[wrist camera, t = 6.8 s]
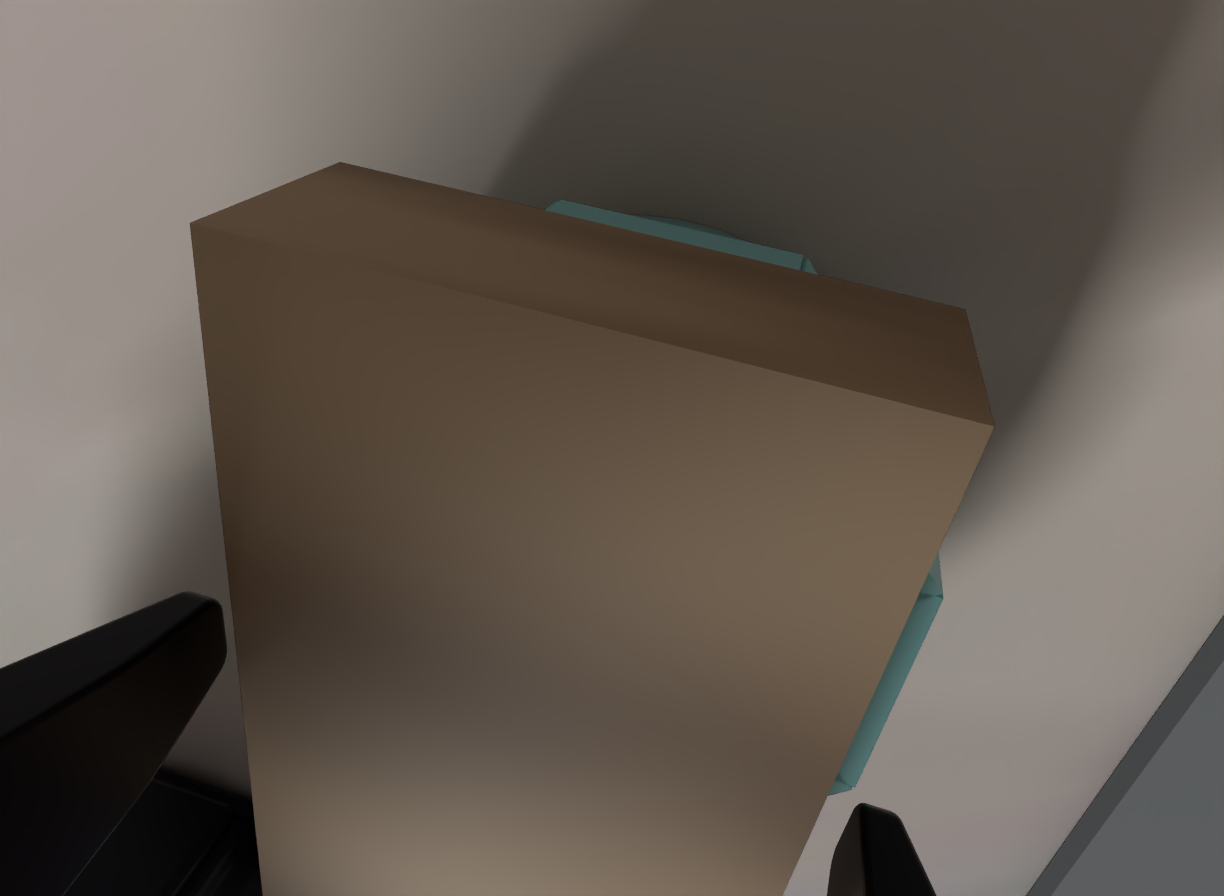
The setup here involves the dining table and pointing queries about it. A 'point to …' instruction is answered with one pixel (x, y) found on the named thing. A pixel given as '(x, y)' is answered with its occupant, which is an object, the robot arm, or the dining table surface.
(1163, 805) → the mat
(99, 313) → the dining table surface
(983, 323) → the dining table surface
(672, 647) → the board
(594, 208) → the bowl
